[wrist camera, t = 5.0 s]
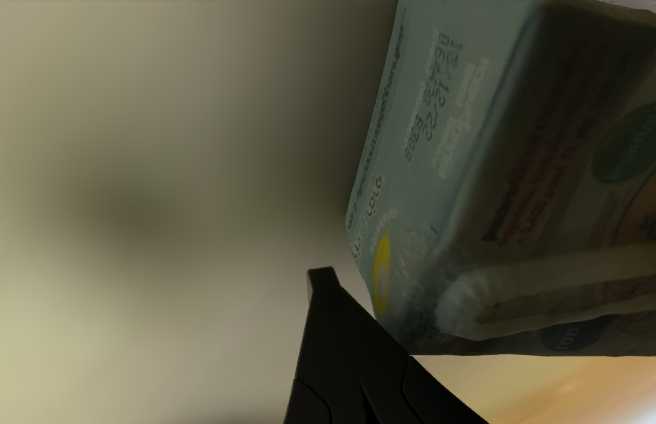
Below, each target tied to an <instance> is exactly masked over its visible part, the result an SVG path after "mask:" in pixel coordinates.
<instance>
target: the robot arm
mask: <svg viewBox="0 0 656 424" xmlns="http://www.w3.org/2000/svg"><path fill="white" fill-rule="evenodd" d="M307 291H308V301H309V309H308V314H307V319H306V323H305V328H304V333H303V338H302V343H301V347H300V352H299V357H298V362H297V367H296V372H295V379H294V380H293V385H292V390H291V395H290V399H289V403H288V407H287V411H286V415H285V419H284V422H283V424H489V423H488V422H487V421H485V420H484V419H483V418H482V417H480V416H479V415H478V414H477V413H476V412H474V411H473V410H472V409H471V408H469V407H468V406H467V405H466V404H464V403H463V402H462V401H461V400H460V399H458V398H457V397H456V396H455V395H454V394H452V393H451V392H450V391H449V390H448V389H446V388H445V387H444V386H443V385H442V384H441V383H440V382H438V381H437V380H436V379H435V378H434V377H433V376H432V375H431V374H430V373H429V372H428V371H427V370H426V369H425V368H424V367H423V366H422V365H421V364H420V363H419V362H418V361H417V360H416V359H415V358H414V357H413V356H409V355H410V354H409V353H408V352H407V351H406V350H405V349H404V348H403V347H402V346H401V345H400V344H399V343H398V342H397V341H396V340H395V339H394V338H393V337H392V336H391V335H390V334H389V333H388V332H387V331H386V330H385V329H384V328H383V327H382V326H381V325H380V324H379V323H378V322H377V321H376V320H375V319H374V318H373V317H372V316H371V315H370V314H369V313H368V312H367V311H366V310H365V309H364V308H363V307H362V306H361V305H360V304H359V303H358V302H357V301H356V300H355V299H354V298H353V297H352V296H351V295H350V294H349V293H348V292H347V291H346V290H345V289H344V288H343V287H342V286H341V285H340V282H339V280H338V278H337V275H336V273H335V270H334V268H333V267H332V266H328V267H321V268H314V269H309V270H307Z"/></svg>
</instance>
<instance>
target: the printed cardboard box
mask: <svg viewBox="0 0 656 424" xmlns="http://www.w3.org/2000/svg"><path fill="white" fill-rule="evenodd" d="M345 227H346V230H347V232H348V235H349V238H350V241H351V251H352V254H353V257H354V259H355V262H356V264H357V266H358V268H359V271H360V273H361V275H362V277H363V279H364V281H365V283H366V286H367V288H368V291H369V293H370V297H371V301H372V306H373V310H374V315H375V318H376V321H377V322H378V323H379V324H380V325H381V326H382V327H383V328H384V329H385V330H386V331H387V332H388V333H389V334H390V335H391V336H392V337H393V338H394V339H395V340H396V341H397V342H398V343H399V344H400V345H401V346H402V347H403V348H404V349H405V350H406V351H407V352H408V353H409V354H410V355H458V356H478V355H498V354H518V355H533V356H610V357H619V356H656V14H655V13H653V12H651V11H649V10H644V9H632V8H627V7H622V6H618V5H613V4H608V3H603V2H600V1H597V0H399V1H398V4H397V9H396V14H395V20H394V26H393V31H392V35H391V39H390V43H389V47H388V52H387V57H386V61H385V66H384V70H383V75H382V79H381V83H380V87H379V91H378V95H377V99H376V103H375V107H374V110H373V114H372V118H371V122H370V126H369V130H368V134H367V138H366V142H365V145H364V149H363V152H362V156H361V160H360V163H359V167H358V171H357V176H356V180H355V183H354V186H353V189H352V192H351V196H350V200H349V204H348V209H347V214H346V219H345Z"/></svg>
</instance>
